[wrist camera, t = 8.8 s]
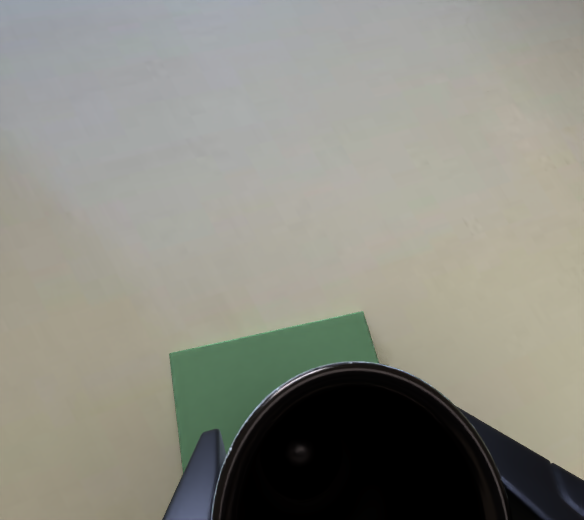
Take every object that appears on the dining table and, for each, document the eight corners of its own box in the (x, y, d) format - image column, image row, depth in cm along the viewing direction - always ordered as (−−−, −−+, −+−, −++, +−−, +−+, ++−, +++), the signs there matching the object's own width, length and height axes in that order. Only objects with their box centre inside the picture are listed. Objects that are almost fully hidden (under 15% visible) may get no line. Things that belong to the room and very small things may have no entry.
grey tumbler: (295, 546, 14) (379, 863, 4) (218, 446, 15) (141, 516, 5) (377, 452, 15) (578, 525, 6) (300, 367, 16) (360, 305, 7)
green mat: (426, 528, 16) (430, 531, 16) (200, 602, 15) (198, 607, 15) (361, 312, 20) (363, 310, 19) (170, 354, 18) (168, 353, 18)
